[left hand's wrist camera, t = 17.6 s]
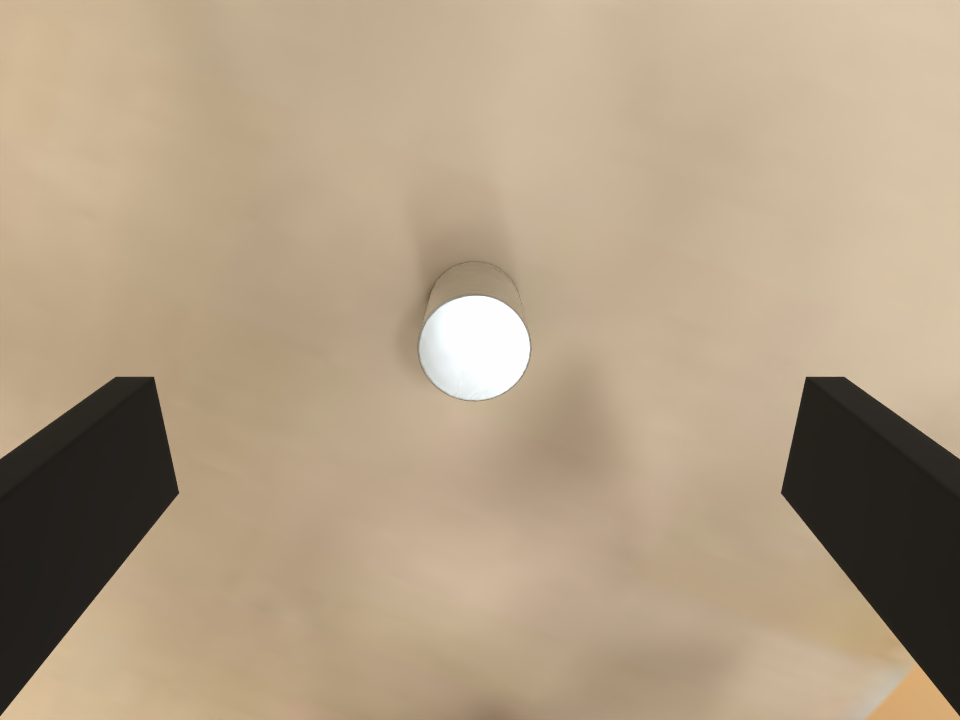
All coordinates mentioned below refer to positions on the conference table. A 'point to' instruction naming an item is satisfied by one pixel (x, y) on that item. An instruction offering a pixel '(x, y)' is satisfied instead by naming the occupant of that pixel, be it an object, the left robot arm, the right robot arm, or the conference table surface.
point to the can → (474, 333)
